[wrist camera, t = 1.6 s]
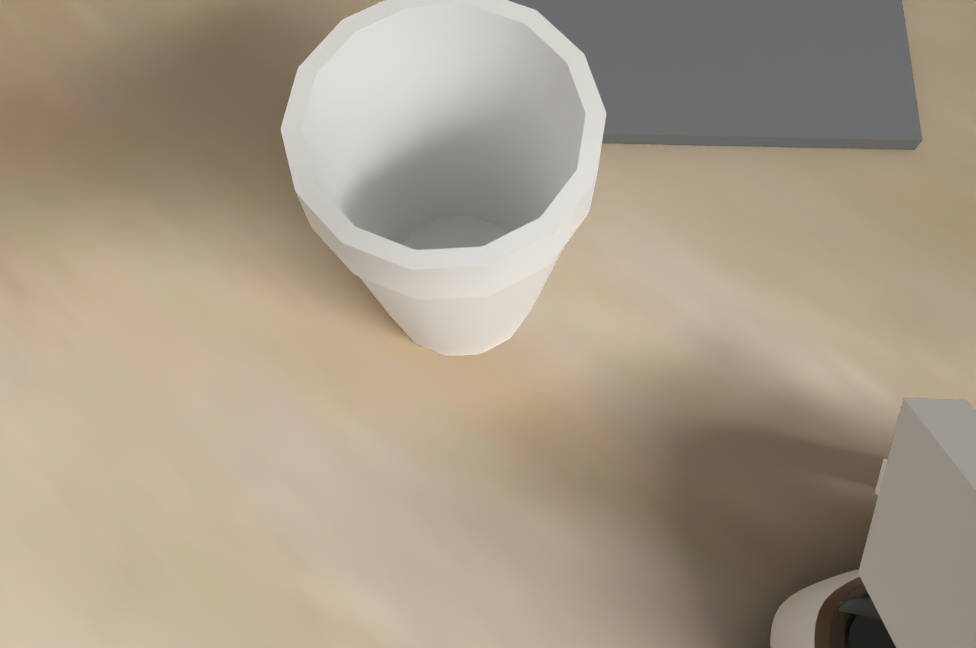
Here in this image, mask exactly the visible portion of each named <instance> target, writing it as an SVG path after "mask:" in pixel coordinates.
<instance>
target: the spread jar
mask: <svg viewBox="0 0 976 648" xmlns="http://www.w3.org/2000/svg"><path fill="white" fill-rule="evenodd" d="M887 460H888V459H883V463H882V466H881V470H880V474H879V478H878V482H877V486H876V490H875V494H876V495H877V496H878V495H879V491H880V487H881V483H882V479H883V475H884V472H885V468H886V464H887ZM858 572H859V569H857V570H853V571H849V572H846V573H843V574H840V575H837V576H834V577H831V578H828V579H825V580H823V581H820V582H818V583H815V584H812V585H810V586H808V587H806V588H804V589H802V590H800V591H798V592H796V593H795V594H793V595H792V596H790V597H789V598H787V599H786V600H785V601H784V602H783V603H782V604H781V605H780V607H779V608H778V610H777V612H776V614H775V616H774V619H773V623H772V628H771V638H770V648H896V646H895V644H894V642H893V640H892V639H891V637H890V635H889V633H888V631H887V629H886V627H885V625H884V623H883V621H882V619H881V617H880V615H879V613H878V611H877V609H876V607H875V605H874V603H873V601H872V599H871V597H870V595H869V594H868V592H867V590H866V588H865V586H864V584H863V582H862V580H861V578H860V576H859V574H858Z"/></svg>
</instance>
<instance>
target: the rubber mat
mask: <svg viewBox="0 0 976 648" xmlns="http://www.w3.org/2000/svg"><path fill="white" fill-rule="evenodd" d="M508 1H511V2H514V3H517V4H520V5H523V6H526V7H529V8H532V9H535V10H537V11H538V12H539V13H540V14H541V15H542V16H543V17H545V18H546V19H547V20H548V21H549V22H550V23H551V24H552V25H553V26H554V27H555V28H557V29H558V30H559V31H560V32H561V33H562V34H563V35H564V36H565V37H566V38H567V39H569V40H570V41H571V42H572V43H573V44H574V45H575V46H576V47H577V48H578V49H579V50H581V51H582V52H583V53H584V54H585V57H586V60H587V62H588V65H589V68H590V70H591V73H592V76H593V78H594V81H595V84H596V86H597V89H598V92H599V94H600V97H601V100H602V102H603V105H604V108H605V110H606V120H605V126H604V133H603V139H602V143H620V144H669V145H717V146H765V147H813V148H861V149H910V150H914V149H915V148H916V147H917V146H918V145H919V143H920V142H921V141H922V136H921V129H920V122H919V115H918V108H917V101H916V94H915V88H914V81H913V74H912V67H911V60H910V53H909V46H908V39H907V32H906V25H905V18H904V11H903V4H902V0H508Z"/></svg>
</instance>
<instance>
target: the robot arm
mask: <svg viewBox="0 0 976 648" xmlns="http://www.w3.org/2000/svg"><path fill="white" fill-rule="evenodd" d="M858 574H859V576H860V578H861V580H862V582H863V584H864V586H865V588H866V590H867V592H868V594H869V595H870V597H871V599H872V601H873V603H874V605H875V607H876V609H877V611H878V613H879V615H880V617H881V619H882V621H883V623H884V625H885V627H886V629H887V631H888V633H889V635H890V637H891V639H892V640H893V642H894V644H895V646H896V648H976V411H975V410H974V408H973V407H972V406H971V405H970V404H969V403H968V402H967V401H966V400H954V399H926V398H903V402H902V406H901V410H900V414H899V418H898V421H897V425H896V429H895V433H894V437H893V441H892V445H891V448H890V452H889V456H888V460H887V464H886V468H885V472H884V475H883V479H882V483H881V487H880V491H879V495H878V499H877V502H876V506H875V510H874V514H873V518H872V522H871V526H870V529H869V533H868V537H867V541H866V545H865V549H864V553H863V556H862V560H861V564H860V568H859V572H858Z"/></svg>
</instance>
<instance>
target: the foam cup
mask: <svg viewBox="0 0 976 648" xmlns="http://www.w3.org/2000/svg"><path fill="white" fill-rule="evenodd" d="M605 120H606V110H605V108H604V105H603V102H602V100H601V97H600V94H599V92H598V89H597V86H596V84H595V81H594V78H593V76H592V73H591V70H590V68H589V65H588V62H587V60H586V57H585V54H584V53H583V52H582V51H581V50H579V49H578V48H577V47H576V46H575V45H574V44H573V43H572V42H571V41H570V40H569V39H567V38H566V37H565V36H564V35H563V34H562V33H561V32H560V31H559V30H558V29H557V28H555V27H554V26H553V25H552V24H551V23H550V22H549V21H548V20H547V19H546V18H545V17H543V16H542V15H541V14H540V13H539V12H538V11H537V10H535V9H532V8H529V7H526V6H523V5H520V4H517V3H514V2H511V1H508V0H384V1H382V2H380V3H378V4H375V5H373V6H371V7H369V8H367V9H364V10H362V11H360V12H358V13H355V14H353V15H351V16H349V17H347V18H344V19H342V20H341V21H340V22H339V23H338V24H337V26H336V27H335V28H334V29H333V30H332V31H331V32H330V33H329V34H328V35H327V37H326V38H325V39H324V40H323V41H322V42H321V43H320V44H319V45H318V46H317V47H316V49H315V50H314V51H313V52H312V53H311V54H310V55H309V56H308V57H307V58H306V59H305V61H304V62H303V63H302V64H301V65H300V66H299V67H298V69H297V72H296V76H295V80H294V83H293V87H292V90H291V94H290V97H289V101H288V104H287V108H286V111H285V115H284V118H283V122H282V125H281V134H282V138H283V142H284V146H285V150H286V155H287V159H288V163H289V167H290V171H291V175H292V180H293V184H294V188H295V192H296V194H297V197H298V199H299V201H300V203H301V206H302V208H303V210H304V212H305V215H306V217H307V219H308V221H309V224H310V226H311V228H312V229H313V230H314V231H315V232H316V233H317V234H318V235H319V236H320V238H321V239H322V240H323V241H324V242H325V243H326V244H327V245H328V246H329V248H330V249H331V250H332V251H333V252H334V253H335V254H336V255H337V256H338V257H339V259H340V260H341V261H342V262H343V263H344V264H345V265H346V266H347V267H348V269H349V270H350V271H351V272H352V273H353V274H354V275H356V276H358V277H359V278H360V279H361V280H362V281H363V283H364V284H365V285H366V286H367V288H368V289H369V290H370V291H371V293H372V294H373V295H374V296H375V298H376V299H377V300H378V301H379V303H380V304H381V305H382V306H383V308H384V309H385V310H386V311H387V313H388V314H389V315H390V316H391V317H392V319H393V320H394V321H395V322H396V323H397V324H398V325H399V326H400V327H401V328H402V330H403V331H404V332H405V333H406V334H407V335H408V336H409V337H410V338H411V340H412V341H413V342H414V343H415V344H418V345H420V346H423V347H425V348H428V349H430V350H433V351H435V352H438V353H440V354H443V355H445V356H453V355H472V354H481V353H483V352H485V351H487V350H489V349H491V348H493V347H495V346H497V345H499V344H500V343H502V342H504V341H506V340H508V339H510V338H511V337H512V335H513V334H514V333H515V331H516V330H517V328H518V327H519V326H520V324H521V323H522V322H523V320H524V319H525V318H526V316H527V315H528V314H529V312H530V310H531V309H532V307H533V305H534V304H535V302H536V300H537V298H538V296H539V294H540V292H541V290H542V288H543V286H544V284H545V283H546V281H547V279H548V277H549V275H550V273H551V271H552V269H553V267H554V265H555V263H556V262H557V260H558V258H559V256H560V254H561V252H562V250H563V248H564V246H565V244H566V243H567V242H568V240H569V239H570V238H571V236H572V235H573V234H574V232H575V231H576V230H577V228H578V227H579V226H580V224H581V223H582V222H583V220H584V219H585V218H586V216H587V215H588V214H589V210H590V206H591V201H592V197H593V192H594V187H595V183H596V178H597V172H598V166H599V159H600V152H601V146H602V139H603V133H604V126H605Z"/></svg>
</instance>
